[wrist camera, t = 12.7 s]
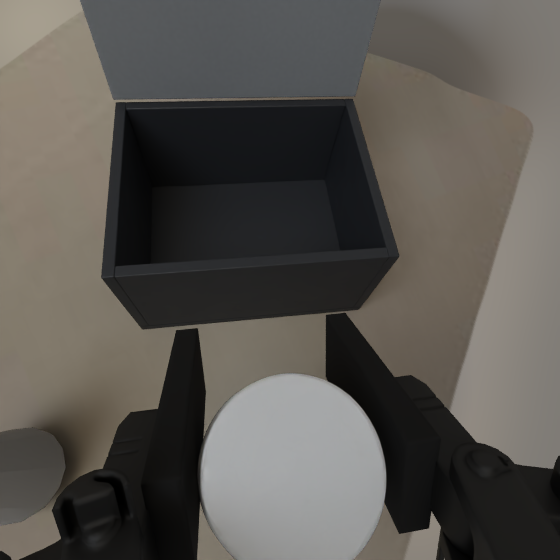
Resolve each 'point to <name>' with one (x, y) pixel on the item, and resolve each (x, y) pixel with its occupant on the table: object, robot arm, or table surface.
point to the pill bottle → (292, 472)
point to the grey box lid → (231, 47)
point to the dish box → (242, 211)
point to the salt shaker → (28, 472)
